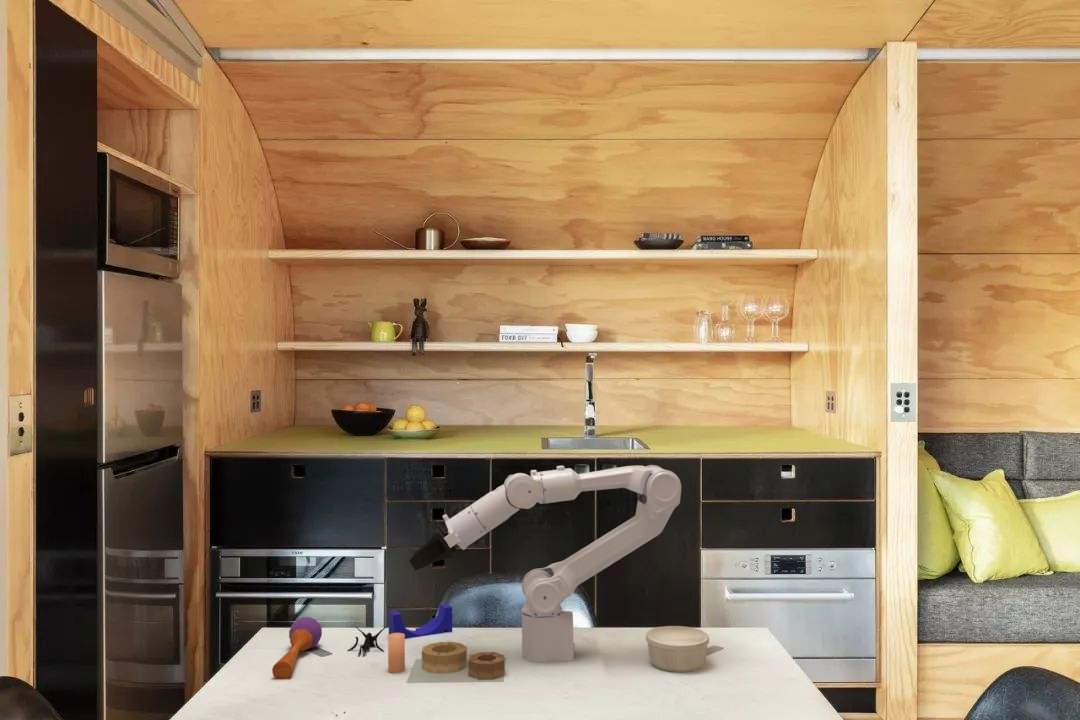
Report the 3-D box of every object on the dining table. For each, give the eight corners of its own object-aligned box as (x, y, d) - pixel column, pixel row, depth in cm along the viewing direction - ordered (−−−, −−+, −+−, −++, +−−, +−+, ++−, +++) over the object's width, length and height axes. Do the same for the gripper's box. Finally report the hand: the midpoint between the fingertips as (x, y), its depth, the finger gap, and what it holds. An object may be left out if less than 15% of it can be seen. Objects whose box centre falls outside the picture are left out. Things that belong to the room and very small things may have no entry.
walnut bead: (504, 667, 151) (504, 652, 151) (503, 679, 145) (503, 663, 145) (470, 667, 151) (470, 652, 151) (467, 679, 145) (467, 663, 145)
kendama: (260, 657, 149) (290, 615, 169) (268, 691, 149) (297, 645, 169) (295, 650, 149) (321, 609, 169) (303, 684, 149) (327, 639, 169)
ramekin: (681, 680, 148) (681, 648, 148) (632, 663, 156) (632, 634, 156) (722, 665, 155) (722, 635, 155) (673, 650, 163) (673, 622, 164)
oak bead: (467, 658, 156) (467, 641, 156) (464, 673, 148) (464, 655, 148) (425, 659, 156) (425, 642, 156) (419, 673, 148) (419, 655, 148)
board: (505, 663, 156) (505, 657, 156) (503, 687, 144) (503, 681, 144) (415, 664, 156) (415, 658, 156) (406, 688, 144) (406, 682, 144)
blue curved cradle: (443, 631, 176) (443, 601, 177) (452, 637, 172) (452, 607, 173) (386, 640, 171) (386, 609, 171) (393, 646, 167) (393, 615, 167)
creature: (382, 669, 157) (393, 646, 165) (380, 642, 156) (391, 620, 164) (339, 668, 158) (352, 645, 166) (337, 641, 157) (350, 619, 164)
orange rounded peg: (405, 673, 151) (405, 632, 152) (403, 679, 149) (403, 637, 149) (389, 673, 151) (389, 632, 151) (387, 679, 149) (386, 637, 149)
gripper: (467, 498, 164) (405, 539, 162) (465, 502, 149) (397, 547, 148) (488, 530, 163) (426, 571, 162) (488, 537, 149) (420, 583, 147)
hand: (414, 562), depth 155 cm, fingers open, 7 cm apart
